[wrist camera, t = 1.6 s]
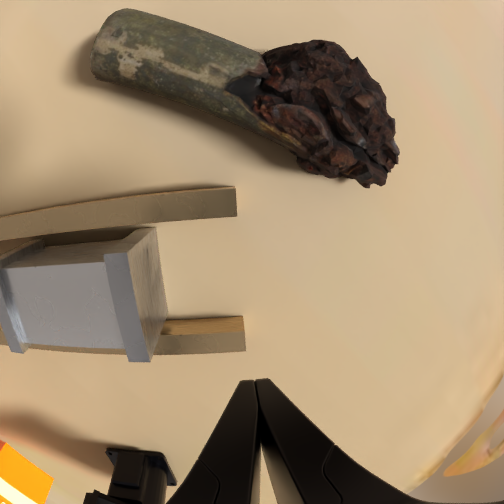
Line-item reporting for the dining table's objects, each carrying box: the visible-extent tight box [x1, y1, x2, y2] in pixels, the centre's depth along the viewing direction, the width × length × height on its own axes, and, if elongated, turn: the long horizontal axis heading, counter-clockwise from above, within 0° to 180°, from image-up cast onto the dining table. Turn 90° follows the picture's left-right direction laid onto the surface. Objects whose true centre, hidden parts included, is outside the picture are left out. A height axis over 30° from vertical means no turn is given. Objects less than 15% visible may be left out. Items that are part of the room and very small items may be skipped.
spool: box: [0, 227, 168, 362], centre depth 16 cm, size 6×10×6 cm, turn 93°
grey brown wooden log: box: [90, 8, 400, 188], centre depth 14 cm, size 18×7×6 cm, turn 64°
